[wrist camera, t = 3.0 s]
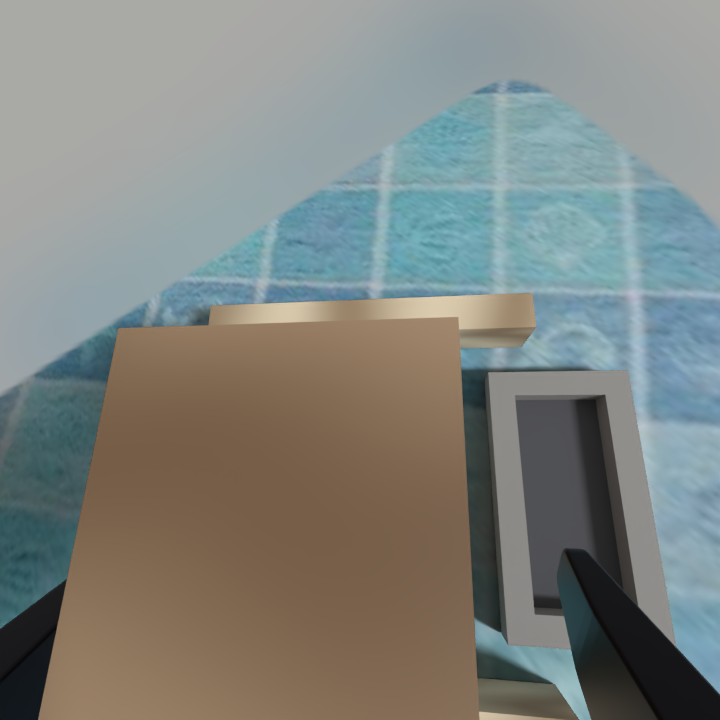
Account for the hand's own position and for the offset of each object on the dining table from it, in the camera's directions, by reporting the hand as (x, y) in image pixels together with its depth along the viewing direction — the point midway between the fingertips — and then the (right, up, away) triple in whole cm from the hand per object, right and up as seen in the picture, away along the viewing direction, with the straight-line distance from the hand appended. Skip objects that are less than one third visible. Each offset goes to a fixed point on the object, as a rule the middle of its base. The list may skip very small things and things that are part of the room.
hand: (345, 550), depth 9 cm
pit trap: (+9, -1, +8) cm, 12 cm away
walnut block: (+1, -2, +9) cm, 9 cm away
